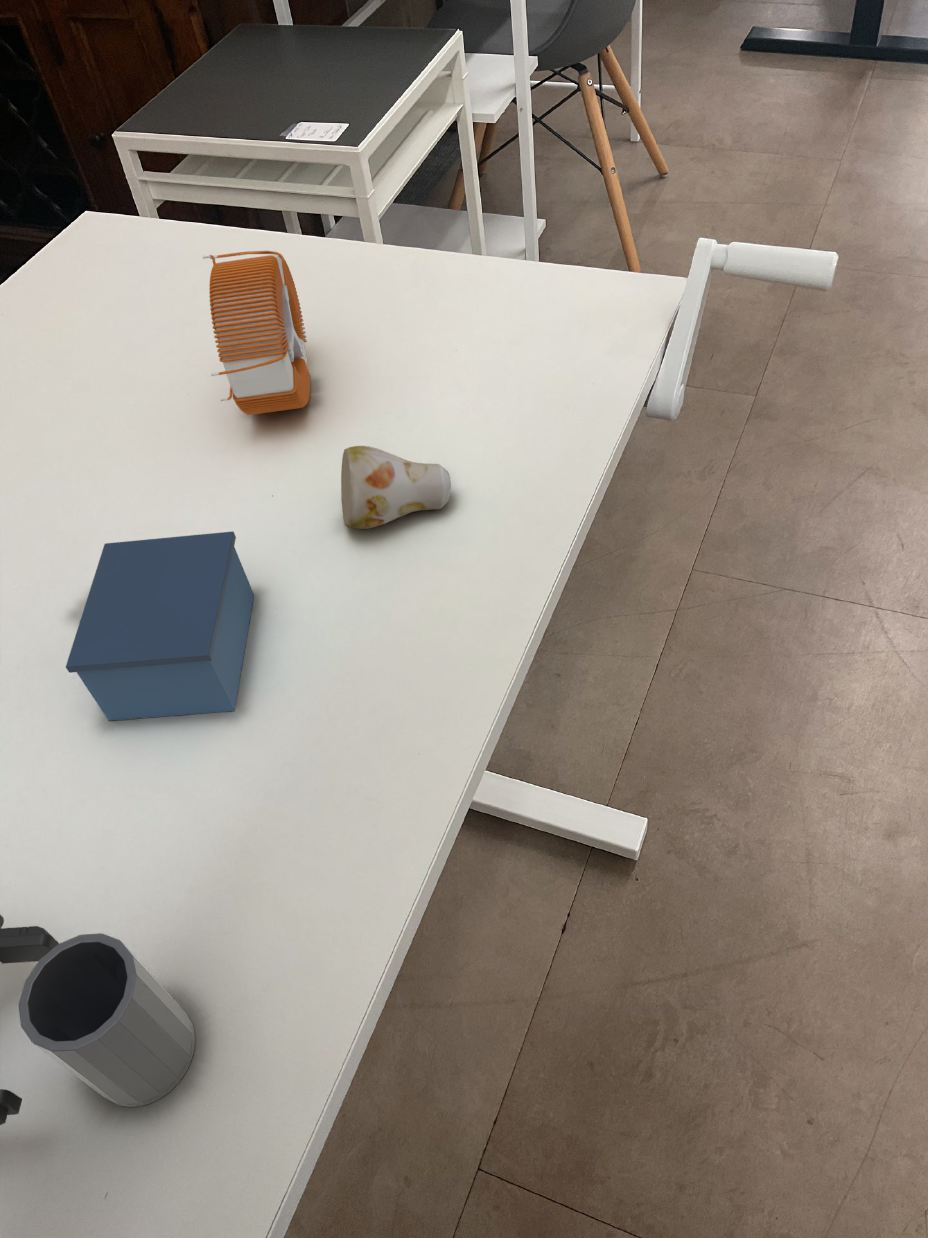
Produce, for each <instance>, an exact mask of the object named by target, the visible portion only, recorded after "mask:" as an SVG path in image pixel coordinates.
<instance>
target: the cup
mask: <svg viewBox="0 0 928 1238" xmlns="http://www.w3.org/2000/svg"><path fill="white" fill-rule="evenodd" d="M18 1015H19V1019H20V1020H19V1022H20V1027H21V1029H22V1030H23V1032H24V1033H25V1035H26V1036H27V1038H29V1040H30V1042H31V1043H32V1044H33V1045H34V1046H36V1047H37V1048H38V1049H39V1050H41V1051H42V1052H44V1053H45V1054H46V1055H47V1056H49V1058H52V1059H53V1060H54V1061H56V1063H58V1064H59V1065H60V1066H62V1067H63V1068H64V1069H66V1070H67V1071H69V1072H70V1073H71V1074H72V1075H74V1076H75V1077H76V1078H78V1079H79V1080H80V1081H82V1082H83V1083H84V1084H86V1085H87V1086H88V1087H90V1088H91V1089H92V1090H94V1091H95V1092H96V1093H98V1094H99V1095H100V1096H102V1097H103V1098H104V1099H107V1100H108V1101H109V1102H111V1103H113V1104H114V1105H115V1104H116V1105H117V1106H120V1107H121V1106H122V1107H125V1108H135V1107H142V1106H147V1105H149V1104H152V1103H154V1102H156V1101H158V1100H160V1099H162V1098H163V1097H165V1096H167V1095H168V1094H169V1093H170V1092H171V1091H173V1089H175V1087H177V1085H178V1084H179V1083H180V1082H181V1081H182V1079H183V1078H184V1076H185V1074H186V1073H187V1072H188V1070H189V1067H190V1065H191V1063H192V1060H193V1056H194V1053H195V1049H196V1047H195V1046H196V1035H195V1034H196V1033H195V1028H194V1025H193V1022H192V1019H191V1017H189V1015H188V1014H187V1012H186V1011H185V1010H184V1009H183V1008H182V1007H181V1005H180V1004H179V1003H178V1002H177V1000H176V999H174V997H173V996H172V995H171V994H170V993H169V992H168V991H167V990H166V988H164V987H163V985H162V984H161V983H160V982H159V980H157V979H156V978H155V977H154V976H153V974H152V973H151V972H150V971H149V970H148V969H147V968H146V967H145V966H144V964H143V963H142V962H141V961H140V960H139V959H138V958H137V957H136V956H135V955H134V954H133V952H132V951H131V950H130V949H129V948H128V947H127V946H126V945H125V944H124V943H123V941H122V940H120V939H118V938H115V937H113V936H111V935H109V934H108V935H107V934H106V933H100V932H99V933H85V934H78V935H76V936H74V937H72V938H69V939H67V940H64V941H62V942H59V945H57V946H56V947H54V948H53V949H52V950H51V951H50V952H48V953H47V954H46V955H45V956H44V957H43V958H41V959H40V960H39V961H37V963H36V965H35V966H34V967H33V969H32V970H31V972H30V973H29V974H28V976H27V977H26V979H25V982H24V983H23V987H22V991H21V995H20V997H19V1001H18Z"/></svg>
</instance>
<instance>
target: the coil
mask: <svg viewBox="0 0 928 1238" xmlns="http://www.w3.org/2000/svg"><path fill="white" fill-rule="evenodd" d="M245 255H260V256H253V257H247V258H240V259H234V260H233V259H232V260H226V261H221V262H217V261H216V259H221V258H230V257H238V256H245ZM202 259H203V260H204V259H210V260H212V264H213V265H212V266H211V267H212V268H211V270H210V276H209V292H208V294H209V306H210V308H209V309H210V315H211V324H212V325H213V326H212V329H213V334H214V336H213V337H214V339H216V340H215V341H214V343H216V345H215V347H216V348H217V349H216V352H217V353H218V354H217V356H218V358H219V362H220V363H222V365H223V368H224V371H217V372H211V373H210V375H211V377H217V376H221V375H226V378H227V381H228V383H229V396H228V397H222V398H220V402H227V401H230V400H233V401H234V403H235V404H236V406H237V407H238V409H239V410H240V411H241V412H243V414H245V415H250V416H252V415H253V416H254V415H259V414H265V413H267V414H268V413H274V412H281V411H288V410H295V409H303V408H304V407H306V406H307V404H308V403H309V400H310V397H311V374H310V371H309V368H308V358H307V350H306V343H307V342H308V339H306V338H307V335H305V334H306V331H305V329H306V328H305V327H304V325H305V323H304V319H303V314H302V310H301V309H302V308H301V303H300V299H299V295H298V291H297V288H296V284H295V281H294V278H293V275H292V272H291V270H290V267H289V265H288V262H287V260H286V259H285V257H284V255H283V254H281V253H280V252H278V251H272V250H252V251H251V250H249V251H248V250H247V251H241V252H232V253H225V254H218V255H212V254H207V255H202Z"/></svg>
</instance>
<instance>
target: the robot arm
mask: <svg viewBox="0 0 928 1238" xmlns="http://www.w3.org/2000/svg"><path fill="white" fill-rule="evenodd" d="M4 923H5V919H4V917H3V915H2V914H0V963H1V964H17V963H33V962H34V963H35V962H38V961H39V960H40V959H41V958H43V957H44V956H45V955H46V954H47V953H48V952H50V951H51V950H52V949H53V948H54V947H56V946H57V945H59V944H60V942H58V940H56V938H54V937H53V935H51V934H50V933H49V932H48V930H46V928H43V927H41V926H38V925H32V926H31V925H30V926H18V927H3V925H4ZM22 1102H23V1098H22V1097H21V1096H19V1095H17V1094H15V1092H13V1091H11V1090H9V1089H3V1088H0V1126H2V1125H5V1124H6V1122H7V1119H8V1116H15V1115H19V1113H20V1109H21V1106H22Z"/></svg>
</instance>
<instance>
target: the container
mask: <svg viewBox="0 0 928 1238" xmlns="http://www.w3.org/2000/svg"><path fill="white" fill-rule="evenodd" d="M236 539H237V537H236V534H235V532H234V531H222V532H215V533H214V532H212V533H211V532H210V533H203V534H202V533H201V534H192V535H190V534H189V535H179V536H170V537H161V538H160V537H158V538H149V539H148V538H147V539H139V540H138V539H137V540H129V541H128V540H126V541H118V542H117V541H116V542H105V543H104V545H103V548H102V550H101V554H100V557H99V560H98V562H97V563H98V564H97V567H96V569H95V573H94V576H93V579H92V582H91V585H90V589H89V591H88V595H87V598H86V602H85V604H84V608H83V611H82V613H81V616H80V621H79V624H78V626H77V630H76V633H75V636H74V638H73V642H72V645H71V648H70V652H69V655H68V659H67V661H66V664H65V668H66V670H67V671H68V673H76V674H77V676H78V677H79V679H81V681H82V683H83V684H84V686H85V688H86V689H87V690H88V692H89V694H90V695H91V697H92V698H93V699H94V701H95V702H96V704H97V706H98V707H99V709H100V710H101V711H102V713H103V715H104V716H105V718H106V719H107V721H109V722H110V721H111V722H112V721H123V720H125V721H126V720H137V719H149V718H160V717H161V718H162V717H173V716H186V715H199V714H211V713H226V712H234V711H235V710H236V703H237V698H238V693H239V686H240V680H241V674H242V669H243V663H244V658H245V657H244V656H245V651H246V645H247V639H248V633H249V627H250V621H251V615H252V611H253V610H252V609H253V603H254V598H255V594H254V591H253V589H252V586H251V584H250V581H249V579H248V576H247V574H246V571H245V569H244V567H243V564H242V562H241V560H240V557H239V555H238V552H237V550H236V548H235V543H236Z"/></svg>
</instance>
